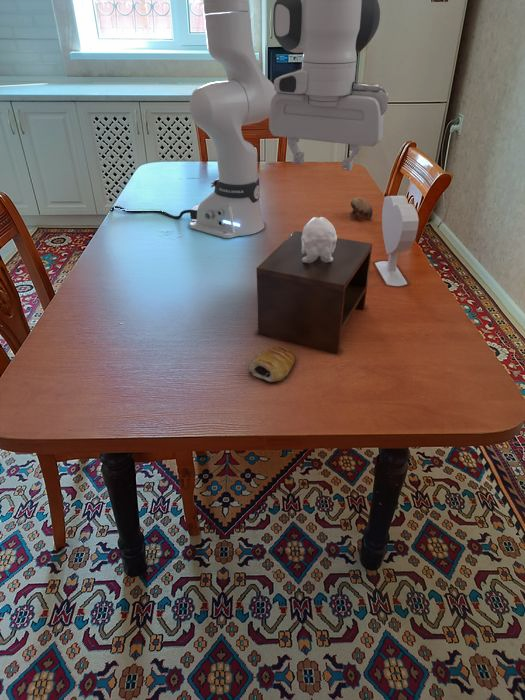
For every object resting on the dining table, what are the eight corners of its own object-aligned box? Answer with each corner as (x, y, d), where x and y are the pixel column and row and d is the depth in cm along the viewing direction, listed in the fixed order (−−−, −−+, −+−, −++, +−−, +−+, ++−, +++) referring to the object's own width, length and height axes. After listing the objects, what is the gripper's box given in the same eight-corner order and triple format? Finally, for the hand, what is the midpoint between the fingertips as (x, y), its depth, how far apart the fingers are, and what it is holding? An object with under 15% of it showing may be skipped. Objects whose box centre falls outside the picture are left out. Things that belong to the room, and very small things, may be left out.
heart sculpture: (410, 287, 115) (424, 213, 104) (389, 288, 114) (400, 214, 104) (391, 258, 127) (402, 189, 117) (372, 259, 127) (381, 190, 116)
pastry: (274, 349, 95) (275, 333, 93) (304, 361, 92) (305, 345, 90) (246, 374, 89) (245, 358, 87) (277, 388, 86) (277, 371, 84)
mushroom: (341, 209, 147) (354, 192, 145) (346, 211, 155) (359, 194, 152) (361, 226, 146) (375, 209, 144) (365, 227, 154) (378, 211, 151)
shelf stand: (258, 334, 100) (256, 267, 91) (293, 291, 114) (294, 230, 105) (337, 354, 94) (344, 285, 85) (364, 307, 108) (372, 243, 99)
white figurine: (303, 223, 85) (297, 205, 96) (302, 269, 90) (296, 247, 100) (339, 222, 85) (329, 204, 96) (336, 268, 90) (327, 246, 100)
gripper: (394, 81, 80) (382, 168, 88) (280, 74, 87) (279, 155, 95) (385, 87, 75) (373, 178, 83) (265, 79, 82) (265, 164, 90)
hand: (322, 166), depth 89 cm, fingers open, 8 cm apart
